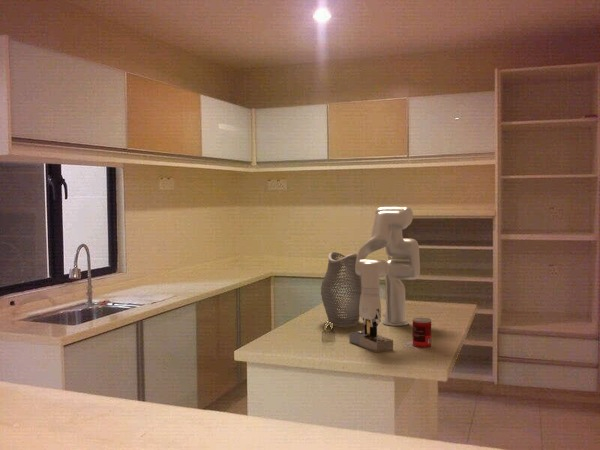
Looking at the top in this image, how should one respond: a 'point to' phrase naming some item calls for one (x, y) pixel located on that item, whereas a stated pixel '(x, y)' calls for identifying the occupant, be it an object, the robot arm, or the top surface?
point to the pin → (369, 329)
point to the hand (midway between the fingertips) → (370, 334)
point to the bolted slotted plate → (371, 342)
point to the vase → (330, 297)
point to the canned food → (422, 332)
